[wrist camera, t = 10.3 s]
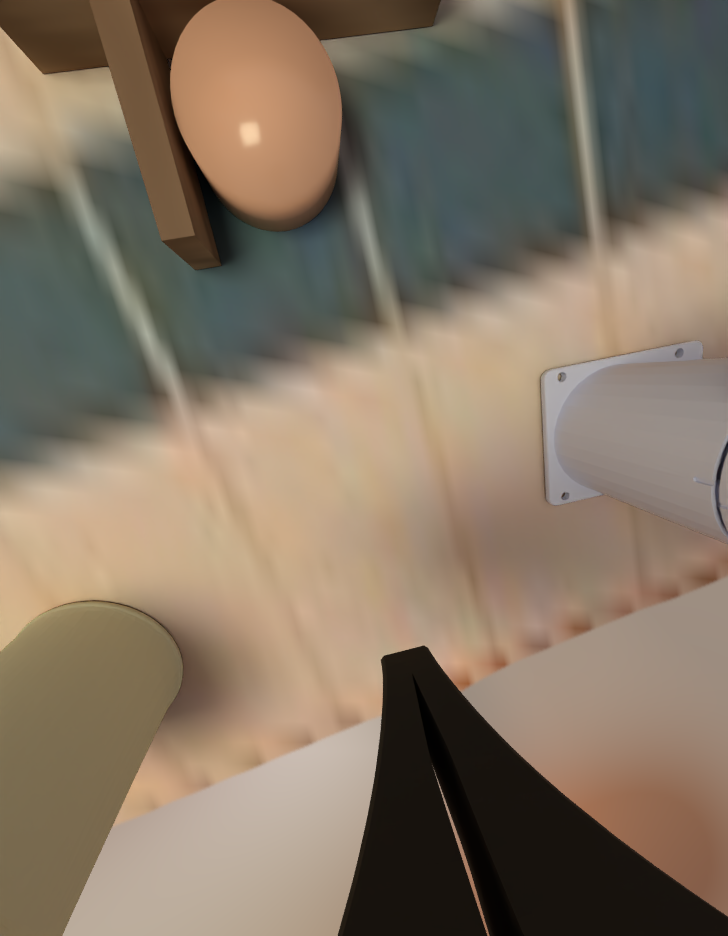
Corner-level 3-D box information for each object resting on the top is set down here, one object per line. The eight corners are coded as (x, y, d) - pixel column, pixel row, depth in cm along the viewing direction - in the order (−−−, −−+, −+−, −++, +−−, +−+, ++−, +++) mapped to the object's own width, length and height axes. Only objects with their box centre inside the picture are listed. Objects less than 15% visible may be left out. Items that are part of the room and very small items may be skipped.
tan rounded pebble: (322, 62, 15) (323, -15, 12) (349, 222, 16) (355, 188, 13) (180, 80, 14) (144, 4, 11) (222, 242, 16) (200, 212, 13)
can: (29, 580, 19) (-452, 913, 7) (202, 622, 20) (49, 940, 9) (-2, 713, 20) (-428, 1156, 9) (161, 741, 22) (-12, 1135, 11)
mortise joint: (428, -12, 14) (461, -130, 11) (452, 227, 17) (486, 189, 13) (29, 34, 13) (-70, -82, 10) (115, 283, 16) (59, 257, 12)
